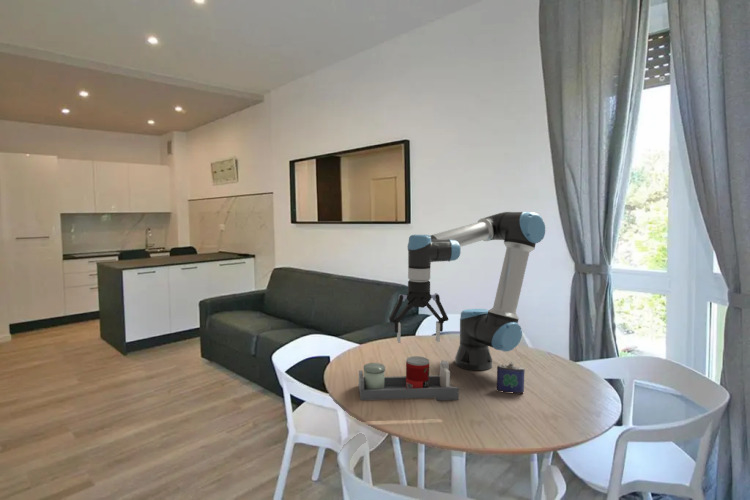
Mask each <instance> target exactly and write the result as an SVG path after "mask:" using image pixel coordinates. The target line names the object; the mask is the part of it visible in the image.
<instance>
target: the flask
mask: <svg viewBox="0 0 750 500" xmlns="http://www.w3.org/2000/svg"><path fill="white" fill-rule="evenodd" d="M525 369H526V368H524V367H521V366H520V367H519V366H514V362H513V361H511V362H509V363H508V364H507V365H506V364H503V363H502V364H499V365H497V368H496V391H497V390H498V391H497V392H499V391H503V392H513V393H523V392H524V393H525ZM503 392H502V393H503ZM524 393H523V394H524Z"/></svg>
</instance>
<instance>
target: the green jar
mask: <svg viewBox="0 0 750 500" xmlns="http://www.w3.org/2000/svg"><path fill="white" fill-rule="evenodd" d="M385 371H386V366H385V365H384V364H383V363H379V362H370V363H365V364H364V365H363V377H364V390H373V389H384V377H385V374H386V373H385Z"/></svg>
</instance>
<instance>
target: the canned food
mask: <svg viewBox="0 0 750 500" xmlns="http://www.w3.org/2000/svg"><path fill="white" fill-rule="evenodd" d="M405 363H406V364H405V376H406V388H429V376H430V359H428V358H427V357H424V356H409V357H407V358H406V360H405Z"/></svg>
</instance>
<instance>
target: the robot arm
mask: <svg viewBox="0 0 750 500" xmlns="http://www.w3.org/2000/svg"><path fill="white" fill-rule="evenodd" d="M545 235H546V224H545V222H544V220H543V218H542V216H541V215H540V214H538V213H536V212H531V211H503V212H499V213H496V214H492V215H489V216H486V217H483V218H480V219H478V221H477V222H474V223H469V224H467V225H462V226H459V227H456V228H451V229H448V230H445V231H441V232H438V233H437V232H436V233H434V234H431V235H429V234H412V235H410V236H409V237H408V243H407V251H408V254H407V256H408V257H407V258H408V259H407V260H408V262H407V265H408V266H407V268H408V269H407V270H408V271H407V273H408V274H407V279H408V281H407V294H402V293H399V294H398V297H397V298H398V299H397V301H396V304H395V306H394V307H393V309H392V311H391V313H390V314H389V317H388V320H389V322H390V323H392V324H393V330H394V333H396V341H397V343H398V344H401V331H402V330H401V329H402V327H401V321H402V319H403V318H404V317H405V316H406V314H408V313H409V311H410V310H411V309H412V308H415V309H418V308H425V307H426V308H427V309H428V310H429V311H430V313H432V315H433V316H434V317H435V318H436V319H437V321H435V341H436V343H440V342H441V333H442V332H443V331H444V323H445V322H448V321H449V317H448V315H447V313H446V311H445V309H444V307H443V305H442V303H441V301H440V300H441V298H440V295H439V294H438V293H437V292H436V293H433V294H431V281H430V280H431V264H432V263H436V262H437V263H438V262H451V261H452V262H453V261H456V260H458V259H459V258H460V256H461V253H462V252H461V247H464V246H467V245H471V244H475V243H477V242H478V243H479V242H481V241H483V242H490V241H503V245H504V246H505V247H506V250H505V253H504V258H503V261H502V262H503V263H502V267H501V271H500V275H499V280H498V284H497V289H496V292H495V293H496V294H495V297H494V302H493V307H492V308H490V309H487V308H469V309H464V310H461V312H460V316H459V317H460V319H459V346H458V349H457V352H456V354H455V357H454V363H455V365H456V366H458V367H459V368H461V369H465V370H470V371H486V370H489V369H491V368H493V358H492V355H491V352H490V348H493V349H495V350H497V351H501V352H505V353H506V352H511V351H513V350H514V349H515V348H517V346H519V344H520V343H521V339H522V338H523V337H522V336H523V330H522V327H521V325H520V324H519V319H520V318H519V317H518V315H517V308H518V306H519V305H518V304H519V300H520V295H521V291H522V287H523V281H524V277H525V274H526V273H525V272H526V269H527V265H528V260H529V256H530V252H532V251H534V250H535V248H536V244H539V243H541V242H542V240H543V239H544V237H545ZM406 300H407V301H408V302H407V303H406V305H405V306H404V308H403V309H402V310H401V311H400V312H399V310H400V309H401V306H402V305H403V302H405V301H406ZM431 300H433V301H435V304H436V306H437V309H438V310H439V312H440V314H441V315H439V314H438V313H437V310H435V309H434V308H433V306H432V304H430V302H431ZM398 312H399V313H398ZM489 347H490V348H489Z"/></svg>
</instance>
